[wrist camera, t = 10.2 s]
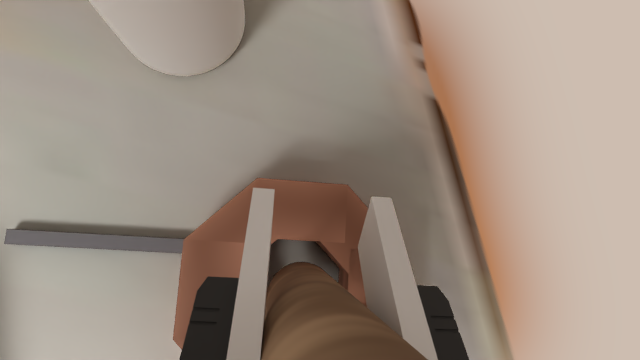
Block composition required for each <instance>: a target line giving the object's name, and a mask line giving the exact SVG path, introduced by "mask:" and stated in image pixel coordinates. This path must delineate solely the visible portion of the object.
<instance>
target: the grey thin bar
mask: <svg viewBox="0 0 640 360" xmlns="http://www.w3.org/2000/svg"><path fill="white" fill-rule="evenodd" d="M183 241H184V239H177V238H160V237H142V236H125V235H107V234H90V233H72V232H55V231H37V230H20V229H7V230H6V236H5V242H4V244H16V245H35V246H54V247H73V248H91V249H110V250H129V251H148V252H167V253H182V250H183Z"/></svg>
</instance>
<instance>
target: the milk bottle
mask: <svg viewBox="0 0 640 360" xmlns="http://www.w3.org/2000/svg"><path fill="white" fill-rule="evenodd" d="M88 1H89V2H90V3H91V5H92V6H93V7H94V8H95V10H96V11H97V12H98V13H99V14H100V16H101V17H102V18H103V19H104V21H105V22H106V23H107V24H108V26H109V27H110V28H111V29H112V30H113V32H114V33H115V34H116V35H117V37H118V38H119V39H120V40H121V41H122V43H123V44H124V45H125V46H126V47H127V49H128V50H129V51H130V52H131V53H132V54H133V55H134V56H135V57H136V58H137V59H138V60H139V61H141V62H142V63H143V64H145V65H146V66H148V67H150V68H152V69H153V70H156V71H158V72H161V73H164V74H169V75H174V76H193V75H198V74H203V73H206V72H208V71H210V70H213V69H215V68H216V67H218V66H220V65H221V64H223V63H224V62H225V61H226V60H227V59H228V58H229V57H230V56H231V55H232V54H233V53H234V52H235V50H236V49H237V47H238V45H239V44H240V41H241V39H242V36H243V33H244V28H245V8H244V0H88Z"/></svg>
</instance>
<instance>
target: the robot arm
mask: <svg viewBox="0 0 640 360" xmlns="http://www.w3.org/2000/svg"><path fill="white" fill-rule="evenodd" d="M274 192H275V189H264V188H253V192H252V199H251V205H250V211H249V218H248V224H247V231H246V237H245V243H244V250H243V256H242V263H241V269H240V275H239V278H232V277H210V276H208V277H207V278H206V280H205V281H204V282H203V283H202V285H201V286H200V287H199V289H198V290H197V293H196V297H195V301H194V305H193V310H192V313H191V317H190V321H189V324H188V328H187V332H186V336H185V340H184V344H183V348H182V352H181V356H180V360H260V357H261V348H262V339H263V330H264V320H265V308H266V296H267V284H268V272H269V260H270V248H271V234H272V220H273V206H274ZM358 252H359V259H360V265H361V272H362V278H363V285H364V291H365V297H366V304H367V308H368V309H369V310H370V311H372V312H373V313H374V314H375V315H376V316H377V317H379V318H380V319H381V320H382V321H383V322H384V323H386V324H387V325H388V326H389V327H390V328H391V329H393V330H394V331H395V332H396V333H397V334H398V335H400V336H401V337H402V338H403V339H404V340H405V341H407V342H408V343H409V344H410V345H411V346H412V347H414V348H415V349H416V350H417V351H418V352H419V353H421V354H422V355H423V356H424V357H425V358H426V359H428V360H469V358H468V355H467V352H466V350H465V347H464V344H463V341H462V338H461V335H460V333H459V332H458V327H457V324H456V321H455V320H454V316H453V313H452V310H451V307H450V304H449V301H448V300H447V298H446V297H445V296H444V295H443V293H442V292H441V291H440V289H439V288H438V287H437V286H418V285H416V281H415V278H414V274H413V271H412V268H411V264H410V261H409V257H408V254H407V250H406V247H405V243H404V240H403V236H402V233H401V229H400V226H399V222H398V219H397V215H396V212H395V208H394V205H393V201H392V198H389V197H375V196H371V200H370V203H369V207H368V211H367V214H366V218H365V222H364V225H363V229H362V233H361V237H360V240H359V244H358Z"/></svg>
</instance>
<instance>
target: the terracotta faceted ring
mask: <svg viewBox="0 0 640 360" xmlns="http://www.w3.org/2000/svg"><path fill="white" fill-rule="evenodd" d="M253 188H264V189H275V192H274V206H273V220H272V234H271V244H272V243H274V242H275V241H276V240H277V239H286V240H303V241H316V242H317V243H318V244H319V245H320V247H321V248H322V249H323V250H324V251H325V252H326V254H327V255H328V256H329V257H330V258H331V259H332V260H333V262H334V263H335V264H336V265H337V266H338V267H339V281H338V283H339V284H340V285H341V286H342V287H344V288H345V289H346V290H347V291H348V292H349V293H351V294H352V295H353V296H354V297H355V298H356V299H358V300H359V301H360V302H361V303H362V304H363V305H365V306H366V307H367V304H366V297H365V291H364V285H363V278H362V272H361V265H360V259H359V252H358V244H359V240H360V237H361V233H362V229H363V225H364V222H365V218H366V214H367V211H368V208H367V206H366V205H365V204H364V203H363V202H362V201H361V200H360V198H359V197H358V196H357V195H356V194H355V193H354V192H353V190H352V189H351V188H350V187H349V186H348V185H344V184H331V183H318V182H305V181H291V180H278V179H265V178H257V179H256V180H254V181H253V182H252V183H251V184H250V185H248V186H247V187H246V188H245V189H244V190H242V191H241V192H240V193H239V194H238V195H236V196H235V197H234V198H233V199H232V200H230V201H229V202H228V203H227V204H226V205H224V206H223V207H222V208H221V209H220V210H218V211H217V212H216V213H215V214H214V215H212V216H211V217H210V218H209V219H208V220H206V221H205V222H204V223H203V224H202V225H201V226H199V227H198V228H197V229H196V230H195V231H193V232H192V233H191V234H190V235H189V236H187V237H186V238H185V239H184V241H183V250H182V259H181V269H180V278H179V287H178V297H177V306H176V316H175V325H174V334H173V340H174V341H175V342H176V344H177V345H178V346H179V347H180V348H181V349H182V348H183V344H184V340H185V336H186V332H187V328H188V324H189V321H190V317H191V313H192V310H193V305H194V301H195V297H196V293H197V290H198V289H199V287H200V286H201V285H202V283H203V282H204V281H205V280H206V278H207V277H208V276H210V277H232V278H239V275H240V269H241V263H242V256H243V250H244V243H245V237H246V231H247V224H248V218H249V211H250V205H251V199H252V192H253Z"/></svg>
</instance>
